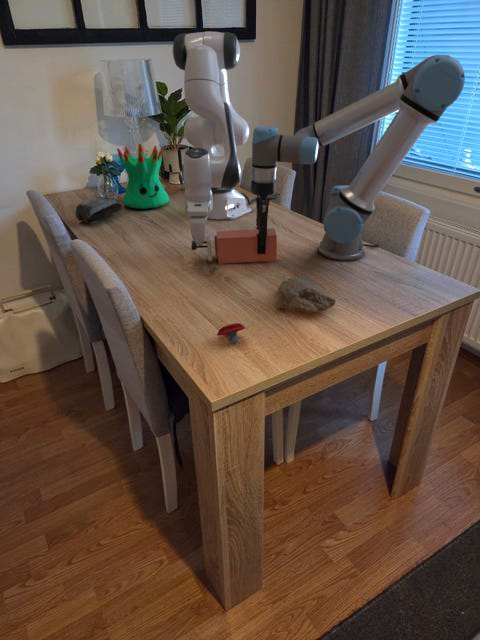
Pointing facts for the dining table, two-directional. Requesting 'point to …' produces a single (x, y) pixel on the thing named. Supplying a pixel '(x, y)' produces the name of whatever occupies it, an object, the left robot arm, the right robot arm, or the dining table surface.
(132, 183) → the toy
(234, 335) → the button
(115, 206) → the rock
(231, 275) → the dining table surface
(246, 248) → the cabinet
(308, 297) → the artifact
